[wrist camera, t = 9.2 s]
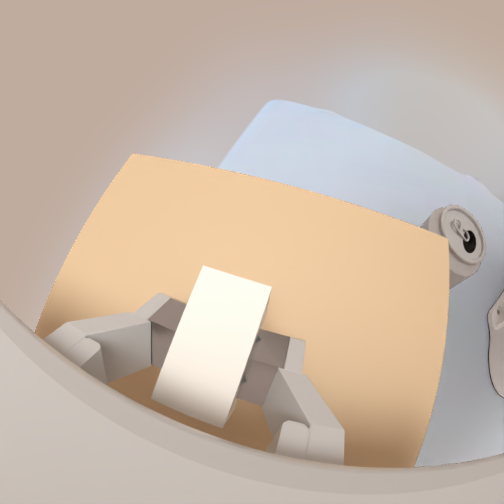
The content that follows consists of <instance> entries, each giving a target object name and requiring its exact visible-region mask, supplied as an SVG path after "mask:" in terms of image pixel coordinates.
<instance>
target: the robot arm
mask: <svg viewBox="0 0 504 504" xmlns="http://www.w3.org/2000/svg"><path fill="white" fill-rule="evenodd" d="M186 305H187V303H186V302H183V301H181V300H178V299H176V298H173V297H171V296H168V295H166V294H163V293H157V294H156V295H155V296H153V297H152V298H151V299H150V300H149V301H147V302H146V303H145V304H144V305H143V306H141V307H140V308H139V309H138V310H137V311H135V312H134V313H131V312H126V313H120V314H114V315H108V316H102V317H96V318H89V319H83V320H77V321H70V322H66V323H65V324H63V325H62V326H61V327H59V328H58V329H56V330H55V331H54V332H52V333H51V334H50V335H48V336H47V337H45V338H44V339H42V338H40V337H39V336H38V335H37V334H36V333H34V332H33V331H32V330H31V329H30V328H29V327H27V326H26V325H25V324H24V323H23V322H22V321H21V320H20V319H19V318H18V317H17V316H16V315H15V314H14V313H13V312H11V310H9V308H7V307H6V305H4V304H3V302H2V301H1V300H0V504H504V453H503V454H499V455H495V456H491V457H487V458H482V459H478V460H473V461H467V462H461V463H454V464H447V465H438V466H426V467H408V468H377V467H358V466H346V465H344V435H345V430H344V429H343V427H342V426H341V424H340V423H339V422H338V420H337V419H336V417H335V416H334V414H333V413H332V411H331V410H330V409H329V407H328V406H327V404H326V403H325V401H324V400H323V398H322V397H321V395H320V394H319V393H318V391H317V390H316V388H315V387H314V385H313V384H312V382H311V381H310V379H309V378H308V376H307V375H305V374H302V371H303V363H304V355H305V346H306V341H305V340H302V339H298V338H294V337H289V336H285V335H281V334H278V333H274V332H271V331H267V330H264V329H259V332H258V335H257V338H256V341H255V343H254V345H253V347H252V350H251V352H250V355H249V358H248V361H247V364H246V367H245V371H244V374H243V375H244V376H243V379H242V381H241V384H240V387H239V390H238V393H237V397H236V398H238V399H241V400H244V401H247V402H250V403H253V404H256V405H259V406H262V410H263V413H264V416H265V418H266V421H267V424H268V427H269V429H270V432H271V435H272V437H273V440H272V442H271V443H270V445H269V446H268V448H267V449H266V451H261V450H258V449H254V448H250V447H247V446H243V445H240V444H237V443H233V442H230V441H227V440H224V439H221V438H218V437H215V436H213V435H210V434H207V433H204V432H202V431H199V430H197V429H194V428H191V427H189V426H187V425H184V424H182V423H179V422H177V421H175V420H173V419H170V418H168V417H166V416H164V415H162V414H160V413H157V412H155V411H153V410H151V409H149V408H147V407H145V406H143V405H141V404H139V403H138V402H136V401H134V400H132V399H130V398H128V397H126V396H125V395H123V394H121V393H119V392H118V391H116V390H114V389H113V388H111V387H109V386H108V383H109V382H112V381H114V380H117V379H120V378H122V377H125V376H127V375H130V374H132V373H135V372H137V371H140V370H142V369H145V368H147V367H150V366H151V365H154V366H156V367H158V368H161V369H162V366H163V364H164V361H165V358H166V356H167V353H168V351H169V348H170V345H171V343H172V340H173V338H174V335H175V333H176V330H177V327H178V325H179V322H180V320H181V317H182V315H183V312H184V310H185V308H186ZM488 323H489V329H490V349H489V364H490V373H491V378H492V382H493V385H494V387H495V389H496V391H497V392H498V393H499V395H501V396H502V397H504V291H503V293H502V294H501V296H500V297H499V299H498V300H497V301H496V303H495V304H494V305H493V307H492V308H491V309H490V311H489V313H488Z"/></svg>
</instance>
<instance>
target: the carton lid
mask: <svg viewBox="0 0 504 504" xmlns="http://www.w3.org/2000/svg"><path fill="white" fill-rule="evenodd" d="M157 293H163V294H166V295H168V296H171V297H173V298H176V299H178V300H181V301H183V302H186V303H187V305H186V308H185V310H184V312H183V315H182V317H181V320H180V322H179V325H178V327H177V330H176V333H175V335H174V338H173V340H172V343H171V345H170V348H169V351H168V353H167V356H166V358H165V361H164V364H163V366H162V369H161V368H158V367H156V366H154V365H151V366H150V367H147V368H145V369H142V370H140V371H137V372H135V373H132V374H130V375H127V376H125V377H122V378H120V379H117V380H114V381H112V382H109V383H108V386H109V387H111V388H113V389H114V390H116V391H118V392H119V393H121V394H123V395H125V396H126V397H128V398H130V399H132V400H134V401H136V402H138V403H139V404H141V405H143V406H145V407H147V408H149V409H151V410H153V411H155V412H157V413H160V414H162V415H164V416H166V417H168V418H170V419H173V420H175V421H177V422H179V423H182V424H184V425H187V426H189V427H191V428H194V429H197V430H199V431H202V432H204V433H207V434H210V435H213V436H215V437H218V438H221V439H224V440H227V441H230V442H233V443H237V444H240V445H243V446H247V447H250V448H254V449H258V450H261V451H266V449H267V448H268V446H269V445H270V443H271V442H272V440H273V437H272V435H271V432H270V429H269V427H268V424H267V421H266V418H265V416H264V413H263V410H262V406H259V405H256V404H253V403H250V402H247V401H244V400H241V399H238V398H236V397H237V393H238V390H239V387H240V384H241V381H242V379H243V376H244V375H243V374H244V371H245V367H246V364H247V361H248V358H249V355H250V352H251V350H252V347H253V345H254V343H255V341H256V338H257V335H258V332H259V329H264V330H267V331H271V332H274V333H278V334H281V335H285V336H289V337H294V338H298V339H302V340H305V341H306V346H305V355H304V363H303V371H302V374H305V375H307V376H308V378H309V379H310V381H311V382H312V384H313V385H314V387H315V388H316V390H317V391H318V393H319V394H320V395H321V397H322V398H323V400H324V401H325V403H326V404H327V406H328V407H329V409H330V410H331V411H332V413H333V414H334V416H335V417H336V419H337V420H338V422H339V423H340V424H341V426H342V427H343V429H344V430H345V435H344V465H346V466H358V467H377V468H408V467H414V465H415V462H416V460H417V457H418V454H419V452H420V449H421V446H422V443H423V440H424V437H425V434H426V431H427V428H428V424H429V421H430V417H431V414H432V410H433V406H434V402H435V398H436V393H437V389H438V384H439V379H440V374H441V369H442V363H443V356H444V349H445V341H446V333H447V322H448V308H449V244H448V239H447V238H445V237H442V236H440V235H438V234H435V233H433V232H430V231H428V230H425V229H422V228H420V227H417V226H415V225H412V224H409V223H407V222H404V221H401V220H399V219H396V218H393V217H390V216H387V215H385V214H382V213H379V212H376V211H373V210H370V209H367V208H364V207H361V206H358V205H355V204H352V203H348V202H345V201H342V200H339V199H336V198H332V197H329V196H326V195H322V194H319V193H315V192H312V191H308V190H305V189H301V188H297V187H294V186H290V185H286V184H282V183H279V182H275V181H271V180H267V179H263V178H259V177H254V176H250V175H246V174H241V173H237V172H233V171H228V170H223V169H219V168H214V167H209V166H203V165H198V164H193V163H188V162H183V161H176V160H171V159H165V158H159V157H152V156H146V155H139V154H132V155H131V156H130V158H129V159H128V160H127V162H126V163H125V164H124V166H123V167H122V168H121V170H120V171H119V173H118V174H117V175H116V177H115V178H114V180H113V181H112V182H111V184H110V185H109V187H108V188H107V190H106V191H105V193H104V194H103V196H102V197H101V199H100V201H99V202H98V204H97V205H96V207H95V209H94V210H93V212H92V213H91V215H90V217H89V218H88V220H87V222H86V224H85V225H84V227H83V228H82V230H81V232H80V234H79V235H78V237H77V239H76V241H75V243H74V245H73V246H72V248H71V250H70V252H69V254H68V256H67V258H66V260H65V262H64V264H63V266H62V268H61V270H60V272H59V274H58V276H57V279H56V281H55V283H54V285H53V287H52V290H51V292H50V294H49V297H48V299H47V302H46V304H45V306H44V309H43V311H42V314H41V317H40V319H39V322H38V325H37V327H36V330H35V333H36V334H37V335H38V336H39V337H40V338H42V339H44V338H45V337H47V336H48V335H50V334H51V333H52V332H54V331H55V330H56V329H58V328H59V327H61V326H62V325H63V324H65V323H66V322H70V321H77V320H83V319H89V318H96V317H102V316H108V315H114V314H120V313H126V312H131V313H134V312H135V311H137V310H138V309H139V308H140V307H141V306H143V305H144V304H145V303H146V302H147V301H149V300H150V299H151V298H152V297H153V296H155V295H156V294H157Z"/></svg>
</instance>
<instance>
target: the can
mask: <svg viewBox="0 0 504 504" xmlns="http://www.w3.org/2000/svg"><path fill="white" fill-rule="evenodd" d="M420 228H422V229H425V230H428V231H430V232H433V233H435V234H438V235H440V236H442V237H445V238H447V239H448V244H449V289H451V288H452V287H454V286H456V285H457V284H459V283H460V282H462V281H464V280H465V279H467V278H468V277H470V276H471V275H473V274H474V273H475V272H477V270H478V268H479V266H480V264H481V260H483V258H484V256H485V253H486V241H485V236H484V233H483V231H482V228H481V226H480V225H479V223H478V221H477V220H476V219H475V218H474V216H473V215H472V214H471V213H470V212H468V211H467V210H466V209H465V208H462V207H460V206H458V205H449V206H447V207H445V208H439V209H436V210H435V211H434V212H433V213H432V214H431V215H430V217H429V218H428V219H427V220H426V221H425V222H424V223H423V224H422V226H421V227H420Z"/></svg>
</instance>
